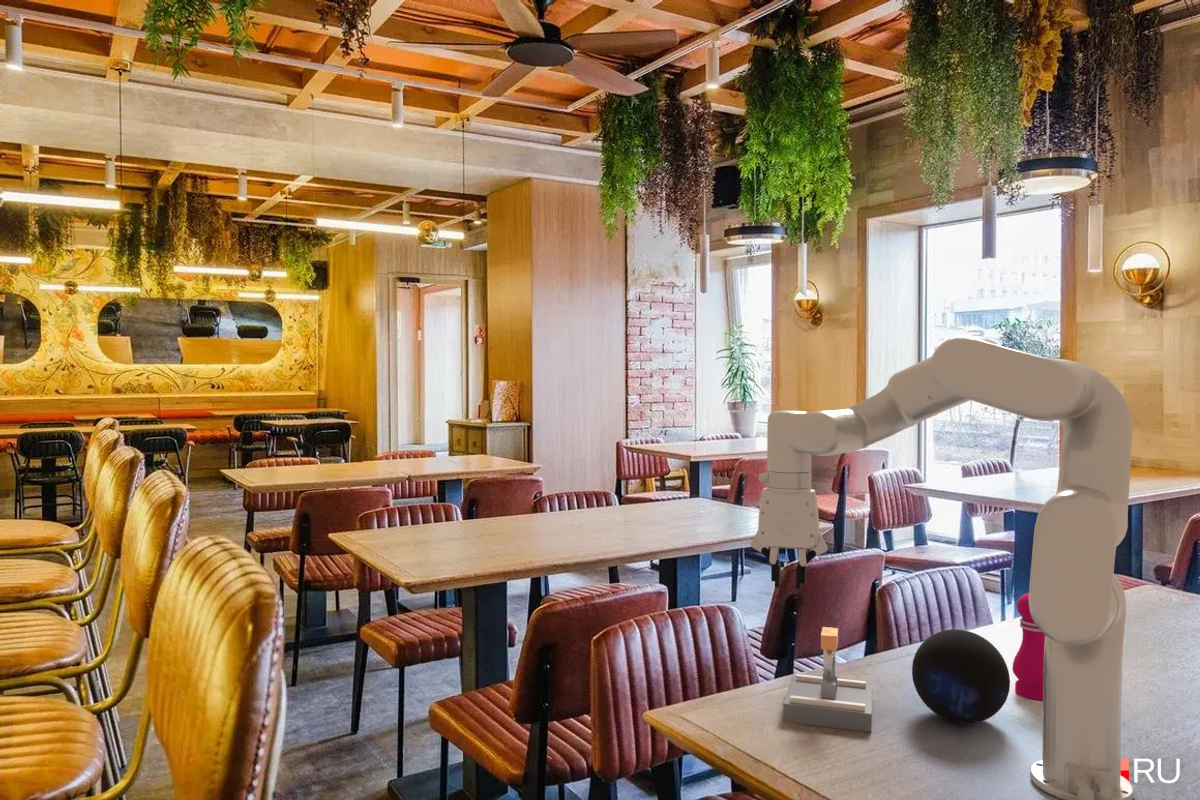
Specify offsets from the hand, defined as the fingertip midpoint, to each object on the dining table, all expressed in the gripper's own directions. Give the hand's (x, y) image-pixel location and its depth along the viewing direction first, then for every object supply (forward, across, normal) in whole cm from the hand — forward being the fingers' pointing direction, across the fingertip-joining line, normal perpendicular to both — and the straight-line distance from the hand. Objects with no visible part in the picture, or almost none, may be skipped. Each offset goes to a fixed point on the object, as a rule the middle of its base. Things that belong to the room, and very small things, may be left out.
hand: (788, 585), depth 147 cm
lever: (+17, +7, 0) cm, 18 cm away
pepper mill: (+21, +42, +20) cm, 51 cm away
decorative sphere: (+21, +28, +3) cm, 35 cm away
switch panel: (+21, +7, 0) cm, 22 cm away
